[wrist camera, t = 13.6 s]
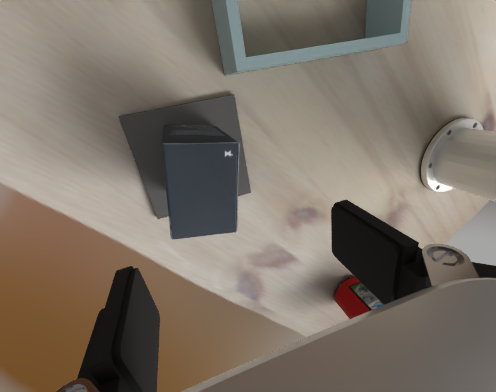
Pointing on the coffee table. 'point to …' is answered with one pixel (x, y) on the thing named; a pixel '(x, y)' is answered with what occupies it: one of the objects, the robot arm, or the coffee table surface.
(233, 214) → the box
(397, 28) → the cubby
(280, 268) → the coffee table surface
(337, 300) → the beverage can
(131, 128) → the mat
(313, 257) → the coffee table surface
